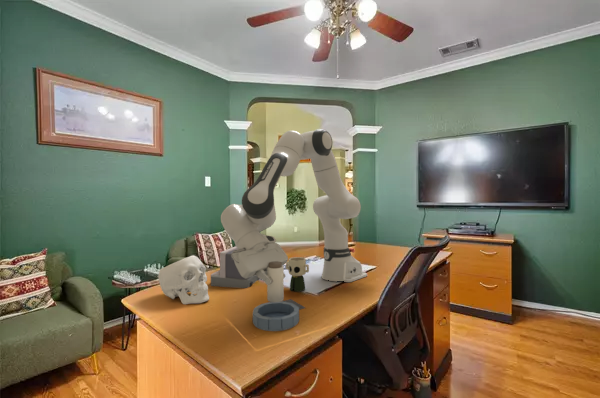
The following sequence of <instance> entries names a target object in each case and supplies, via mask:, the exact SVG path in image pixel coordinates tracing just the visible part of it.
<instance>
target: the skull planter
mask: <svg viewBox="0 0 600 398" xmlns="http://www.w3.org/2000/svg"><path fill="white" fill-rule="evenodd" d="M206 270H207V268H206V266H205V265H204V264H203V262H202V261H201V259H200V258H199V257H198V256H197V255H194V254H193V255H190V256H187V257H185V258H182V259H179V260H177V261H175V262H173V263H171V264H169V265H166V266H165V267H162V268H161V269H159V272H158V283H159V286H160V288H161V292H162V293H163V294H164V295H165V296H166V297H168V298H170V299H172V300H175V298H177V297H179V299H180V301H181V303H182V304H183V305H188V304H202V303H204V302H207V301H209V300H210V295H209V292H208V291H209V286H208V284H207V283H206V282H207V281H208V276H207V274H206ZM188 293H190V295H189V294H188Z"/></svg>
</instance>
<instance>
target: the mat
mask: <svg viewBox="0 0 600 398" xmlns="http://www.w3.org/2000/svg"><path fill="white" fill-rule="evenodd" d="M282 302H289V303H293V304H295V305H296V306H298V307H299V311H300V310H303V309H306V306H303V305H302V304H300V303H299V302H296V301H295V300H293V299H292V298H290V299H285V300H283V301H282Z"/></svg>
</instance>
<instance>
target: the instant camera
mask: <svg viewBox="0 0 600 398" xmlns="http://www.w3.org/2000/svg"><path fill="white" fill-rule="evenodd" d="M234 250H238V249H237V247H236V245H235V246H233V247H230V248H228V249H225V250H223V251H220V252H219V270H216V271H214V272H212V273H211V274H210V286H211V287H223V288H235V289H239V288H240V289H248V288H249V287H251V286H252V285H253V284H255V283H256V282H257V281H258V280H261V279H260V278H258V276H257V275H255V276H252V277H249V278H246V279H245V278H243V277H242V276H241V275H240V273H239V271H238V269H237V267H236V265H235V262H234V259H233V258H232V256H231V255H232V252H233V251H234Z"/></svg>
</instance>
